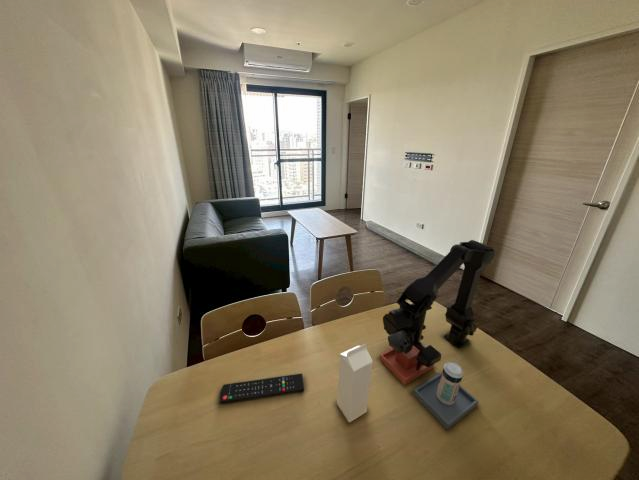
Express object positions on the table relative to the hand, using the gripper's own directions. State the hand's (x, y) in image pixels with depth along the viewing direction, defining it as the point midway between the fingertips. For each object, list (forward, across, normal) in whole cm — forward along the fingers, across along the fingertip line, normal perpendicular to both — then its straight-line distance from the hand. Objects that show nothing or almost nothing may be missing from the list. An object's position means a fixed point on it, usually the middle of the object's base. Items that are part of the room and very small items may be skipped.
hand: (406, 359), depth 84 cm
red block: (+1, 0, 0) cm, 1 cm away
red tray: (+2, 0, 0) cm, 2 cm away
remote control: (+2, -14, -45) cm, 47 cm away
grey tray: (+2, +14, 0) cm, 15 cm away
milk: (+2, +4, -25) cm, 25 cm away
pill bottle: (+1, +14, 0) cm, 14 cm away
